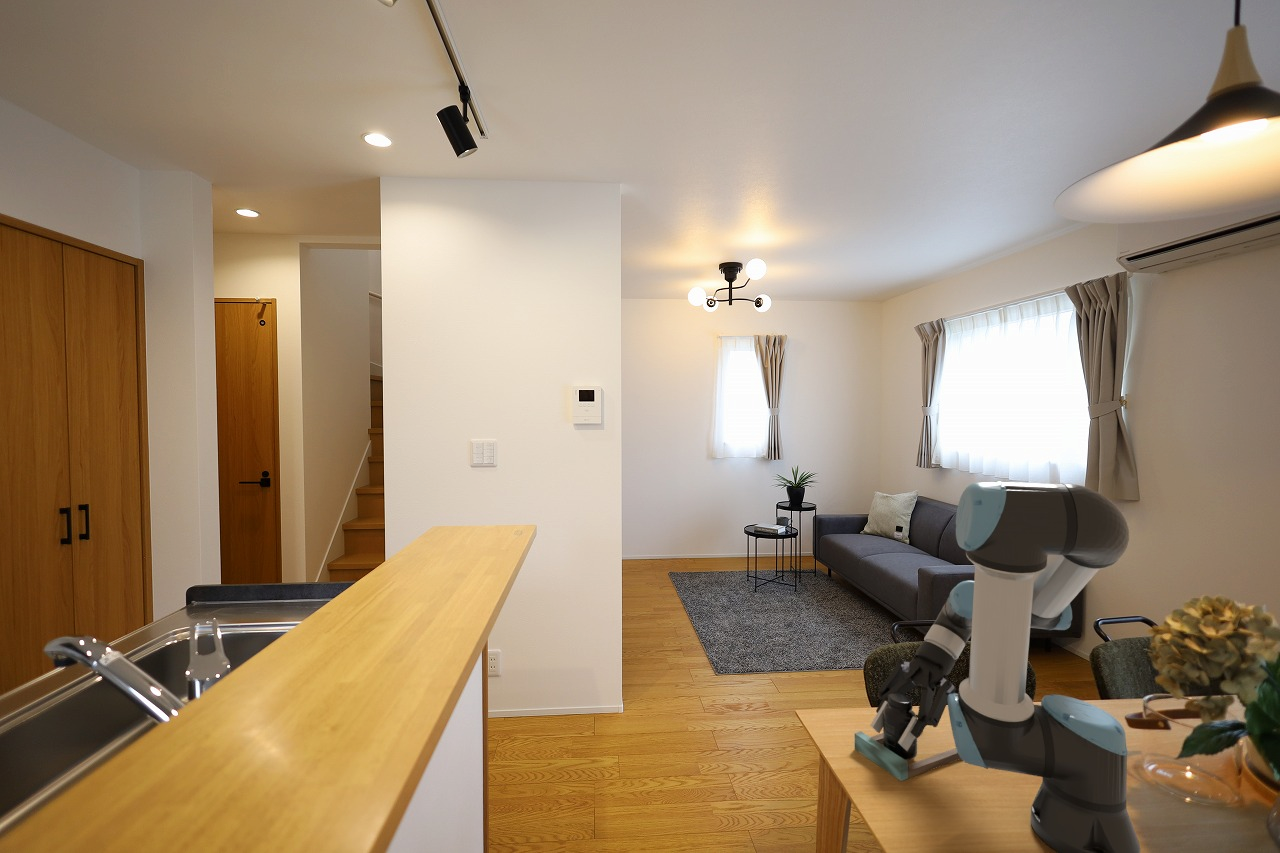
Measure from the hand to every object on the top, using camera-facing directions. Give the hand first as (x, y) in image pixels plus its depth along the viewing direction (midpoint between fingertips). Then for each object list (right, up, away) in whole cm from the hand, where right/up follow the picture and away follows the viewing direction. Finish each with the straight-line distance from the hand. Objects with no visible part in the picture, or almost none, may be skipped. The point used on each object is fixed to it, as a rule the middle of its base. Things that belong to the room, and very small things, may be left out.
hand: (888, 737), depth 121 cm
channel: (+7, -5, +3) cm, 9 cm away
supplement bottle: (+3, -4, +2) cm, 6 cm away
